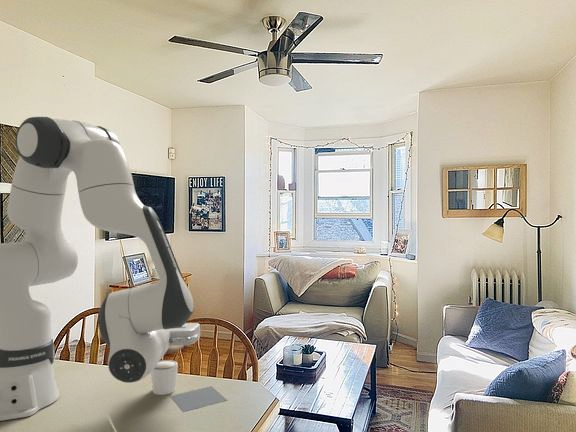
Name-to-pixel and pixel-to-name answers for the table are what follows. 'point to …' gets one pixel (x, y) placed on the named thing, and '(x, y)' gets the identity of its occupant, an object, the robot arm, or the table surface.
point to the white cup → (164, 377)
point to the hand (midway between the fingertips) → (164, 325)
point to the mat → (197, 398)
